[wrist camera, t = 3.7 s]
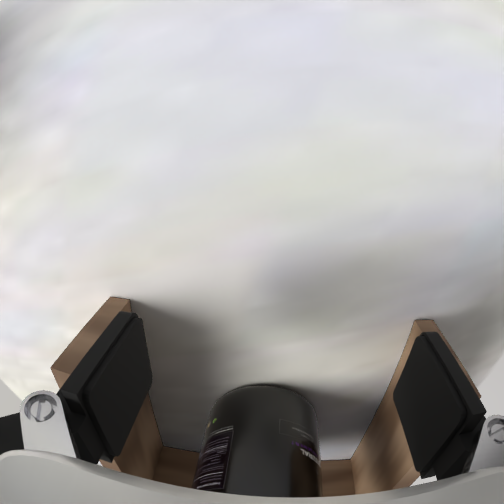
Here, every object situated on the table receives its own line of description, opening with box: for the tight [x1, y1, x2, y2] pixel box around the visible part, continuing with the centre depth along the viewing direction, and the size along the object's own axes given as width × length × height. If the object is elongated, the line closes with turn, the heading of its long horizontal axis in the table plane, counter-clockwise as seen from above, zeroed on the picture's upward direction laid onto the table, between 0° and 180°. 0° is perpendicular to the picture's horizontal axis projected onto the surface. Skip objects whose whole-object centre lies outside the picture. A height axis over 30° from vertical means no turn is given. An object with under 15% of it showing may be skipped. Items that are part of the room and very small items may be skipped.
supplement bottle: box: [191, 385, 323, 498], centre depth 12 cm, size 7×7×12 cm
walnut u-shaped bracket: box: [51, 297, 481, 497], centre depth 15 cm, size 15×17×6 cm
